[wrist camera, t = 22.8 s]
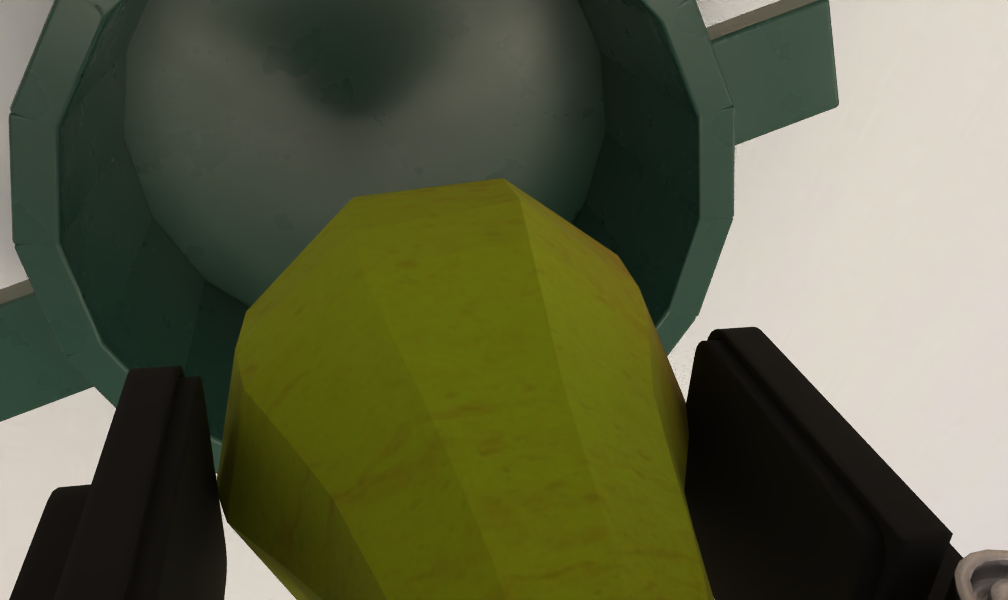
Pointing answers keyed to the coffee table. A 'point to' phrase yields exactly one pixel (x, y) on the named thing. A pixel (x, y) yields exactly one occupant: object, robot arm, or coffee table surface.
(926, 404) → the coffee table surface
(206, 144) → the pot
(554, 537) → the fruit
